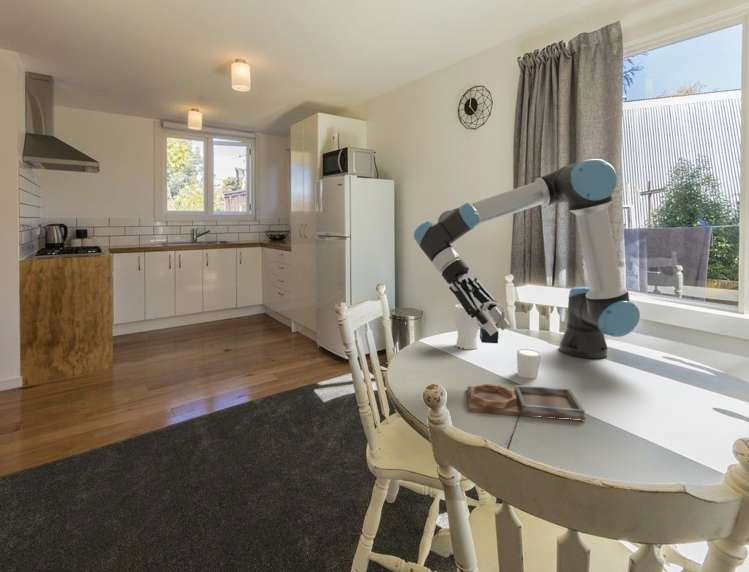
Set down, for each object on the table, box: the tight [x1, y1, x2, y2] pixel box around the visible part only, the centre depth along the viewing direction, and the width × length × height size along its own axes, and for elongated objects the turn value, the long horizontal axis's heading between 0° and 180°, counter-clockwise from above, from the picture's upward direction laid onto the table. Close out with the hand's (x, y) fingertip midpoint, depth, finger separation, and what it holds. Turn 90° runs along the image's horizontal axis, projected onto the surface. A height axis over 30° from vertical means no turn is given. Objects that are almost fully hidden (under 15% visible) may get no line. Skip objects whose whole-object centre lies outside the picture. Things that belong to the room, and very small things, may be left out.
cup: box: [452, 303, 482, 350], centre depth 150 cm, size 11×11×15 cm
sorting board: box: [467, 383, 586, 421], centre depth 103 cm, size 26×13×2 cm, turn 79°
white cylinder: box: [516, 348, 542, 379], centre depth 123 cm, size 7×7×7 cm
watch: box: [475, 301, 506, 344], centre depth 116 cm, size 6×8×11 cm
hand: (500, 330), depth 114 cm, fingers closed on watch, 7 cm apart
